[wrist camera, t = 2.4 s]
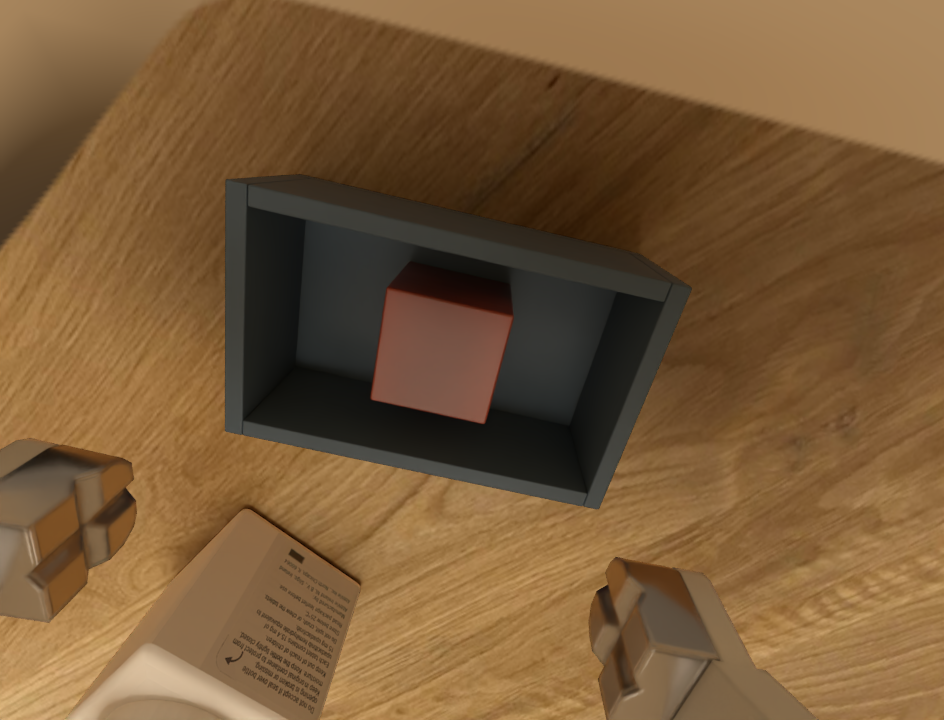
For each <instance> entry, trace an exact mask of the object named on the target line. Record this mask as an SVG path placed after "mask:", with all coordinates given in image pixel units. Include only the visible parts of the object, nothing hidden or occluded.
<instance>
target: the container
mask: <svg viewBox="0 0 944 720" xmlns="http://www.w3.org/2000/svg"><path fill="white" fill-rule="evenodd" d="M359 593H360V585H359V584H358V583H357V582H356V581H354V580H353V579H351V578H350V577H348V576H347V575H345V574H344V573H342V572H341V571H340V570H338V569H337V568H335V567H334V566H332V565H331V564H329V563H328V562H326V561H325V560H323V559H322V558H321V557H319V556H318V555H316V554H315V553H313V552H312V551H310V550H309V549H307V548H306V547H304V546H303V545H302V544H300V543H299V542H297V541H296V540H294V539H293V538H291V537H290V536H288V535H287V534H286V533H284V532H283V531H281V530H280V529H278V528H277V527H275V526H274V525H272V524H271V523H269V522H268V521H267V520H265V519H264V518H262V517H261V516H259V515H258V514H256V513H255V512H253V511H252V510H250V509H243V510H242V511H240V512H239V513H238V514H237V515H236V516H235V517H234V518H233V519H232V520H231V521H230V522H229V523H228V524H227V525H226V526H225V527H224V528H223V529H222V530H221V531H220V532H219V533H218V534H217V535H216V536H215V537H214V538H213V539H212V540H211V541H210V542H209V543H208V544H207V545H206V546H205V547H204V548H203V549H202V550H201V551H200V553H199V554H198V555H197V556H196V557H195V558H194V559H193V560H192V561H191V562H190V563H189V564H188V565H187V566H186V567H185V568H184V569H183V570H182V571H181V572H180V573H179V574H178V575H177V576H176V577H175V578H174V579H173V580H172V581H171V582H170V584H169V585H168V586H167V587H166V589H165V590H164V591H163V593H162V594H161V595H160V597H159V598H158V599H157V600H156V602H155V603H154V604H153V606H152V607H151V608H150V610H149V611H148V612H147V613H146V615H145V616H144V617H143V619H142V620H141V621H140V622H139V624H138V625H137V626H136V628H135V629H134V630H133V632H132V633H131V634H130V635H129V637H128V638H127V639H126V641H125V642H124V643H123V644H122V646H121V647H120V648H119V650H118V651H117V652H116V654H115V655H114V656H113V657H112V659H111V660H110V661H109V663H108V664H107V665H106V667H105V668H104V669H103V670H102V672H101V673H100V674H99V676H98V677H97V678H96V679H95V681H94V682H93V683H92V685H91V686H90V687H89V689H88V690H87V691H86V692H85V694H84V695H83V696H82V698H81V699H80V700H79V702H78V703H77V704H76V705H75V707H74V708H73V709H72V711H71V712H70V713H69V714H68V716H67V717H66V718H65V720H320V717H321V713H322V710H323V707H324V704H325V701H326V698H327V694H328V691H329V688H330V685H331V682H332V679H333V675H334V672H335V669H336V666H337V663H338V660H339V657H340V653H341V650H342V647H343V644H344V641H345V638H346V634H347V631H348V628H349V625H350V622H351V619H352V615H353V612H354V609H355V606H356V603H357V600H358V596H359Z"/></svg>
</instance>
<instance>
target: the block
mask: <svg viewBox="0 0 944 720" xmlns="http://www.w3.org/2000/svg"><path fill="white" fill-rule="evenodd" d="M513 320H514V312H513V303H512V293H511V285H510V284H508V283H503V282H499V281H495V280H490V279H486V278H482V277H477V276H473V275H468V274H464V273H460V272H455V271H451V270H447V269H442V268H438V267H433V266H429V265H425V264H420V263H416V262H412V261H410V262H408V264H407V265H406V266H405V267H404V268H403V269H402V271H401V272H400V273H399V274H398V275H397V276H396V277H395V279H394V280H393V281H392V282H391V283H390V284H389V285H388V287H387V288H386V293H385V300H384V306H383V313H382V320H381V327H380V334H379V341H378V347H377V354H376V361H375V368H374V375H373V381H372V388H371V395H370V399H371V400H374V401H378V402H383V403H388V404H392V405H397V406H401V407H406V408H411V409H415V410H420V411H425V412H429V413H434V414H439V415H443V416H448V417H452V418H457V419H462V420H466V421H471V422H476V423H480V424H485V423H486V420H487V417H488V413H489V409H490V405H491V402H492V398H493V394H494V391H495V387H496V383H497V379H498V376H499V372H500V368H501V365H502V361H503V357H504V353H505V350H506V346H507V342H508V339H509V335H510V331H511V327H512V324H513Z"/></svg>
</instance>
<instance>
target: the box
mask: <svg viewBox="0 0 944 720" xmlns="http://www.w3.org/2000/svg"><path fill="white" fill-rule="evenodd" d="M410 261H412V262H416V263H420V264H425V265H429V266H433V267H438V268H442V269H447V270H451V271H455V272H460V273H464V274H468V275H473V276H477V277H482V278H486V279H490V280H495V281H499V282H503V283H508V284H510V285H511V293H512V303H513V312H514V320H513V324H512V327H511V331H510V335H509V339H508V342H507V346H506V350H505V353H504V357H503V361H502V365H501V368H500V372H499V376H498V379H497V383H496V387H495V391H494V394H493V398H492V402H491V405H490V409H489V413H488V417H487V420H486V423H485V424H480V423H476V422H471V421H466V420H462V419H457V418H452V417H448V416H443V415H439V414H434V413H429V412H425V411H420V410H415V409H411V408H406V407H401V406H397V405H392V404H388V403H383V402H378V401H374V400H371V399H370V395H371V388H372V381H373V375H374V368H375V361H376V354H377V347H378V341H379V334H380V327H381V320H382V313H383V306H384V300H385V293H386V288H387V287H388V285H389V284H390V283H391V282H392V281H393V280H394V279H395V277H396V276H397V275H398V274H399V273H400V272H401V271H402V269H403V268H404V267H405V266H406V265H407V264H408V262H410ZM691 290H692V288H691V287H690V286H688V285H687V284H685V283H684V282H682V281H681V280H679V279H678V278H676V277H675V276H673V275H672V274H670V273H669V272H667V271H665V270H664V269H662V268H661V267H659V266H658V265H656V264H655V263H653V262H652V261H650V260H649V259H647V258H646V257H644V256H643V255H641V254H638V253H634V252H630V251H625V250H621V249H617V248H613V247H608V246H604V245H600V244H595V243H591V242H587V241H583V240H578V239H574V238H570V237H566V236H561V235H557V234H553V233H549V232H544V231H540V230H536V229H531V228H527V227H523V226H519V225H514V224H510V223H506V222H502V221H497V220H493V219H489V218H485V217H480V216H476V215H472V214H467V213H463V212H459V211H455V210H450V209H446V208H442V207H438V206H433V205H429V204H425V203H421V202H416V201H412V200H408V199H403V198H399V197H395V196H391V195H386V194H382V193H378V192H374V191H369V190H365V189H361V188H357V187H352V186H348V185H344V184H339V183H335V182H331V181H327V180H322V179H318V178H314V177H310V176H305V175H301V174H298V175H281V176H266V177H252V178H238V179H226V200H225V431H226V432H230V433H235V434H240V435H242V434H243V435H245V436H250V437H255V438H259V439H264V440H269V441H274V442H278V443H283V444H288V445H293V446H297V447H302V448H307V449H312V450H316V451H321V452H326V453H331V454H335V455H340V456H345V457H350V458H354V459H359V460H364V461H369V462H373V463H378V464H383V465H388V466H392V467H397V468H402V469H407V470H411V471H416V472H421V473H426V474H430V475H435V476H440V477H445V478H450V479H454V480H459V481H464V482H469V483H473V484H478V485H483V486H488V487H492V488H497V489H502V490H507V491H511V492H516V493H521V494H526V495H530V496H535V497H540V498H545V499H549V500H554V501H559V502H564V503H568V504H573V505H578V506H584V507H588V508H593V509H599V508H600V505H601V503H602V500H603V498H604V496H605V493H606V491H607V489H608V486H609V484H610V482H611V479H612V477H613V474H614V472H615V470H616V467H617V465H618V463H619V460H620V458H621V456H622V453H623V451H624V448H625V446H626V444H627V441H628V439H629V437H630V434H631V432H632V430H633V427H634V425H635V422H636V420H637V418H638V415H639V413H640V411H641V408H642V406H643V404H644V401H645V399H646V396H647V394H648V392H649V389H650V387H651V385H652V382H653V380H654V377H655V375H656V373H657V370H658V368H659V366H660V363H661V361H662V359H663V356H664V354H665V351H666V349H667V347H668V344H669V342H670V340H671V337H672V335H673V333H674V330H675V328H676V325H677V323H678V321H679V318H680V316H681V314H682V311H683V309H684V307H685V304H686V302H687V299H688V297H689V295H690V292H691Z"/></svg>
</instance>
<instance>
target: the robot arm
mask: <svg viewBox="0 0 944 720" xmlns="http://www.w3.org/2000/svg"><path fill="white" fill-rule="evenodd" d="M133 480H134V476H133V469H132V463H131V462H129V461H127V460H125V459H123V458H119V457H115V456H110V455H106V454H102V453H97V452H93V451H88V450H84V449H79V448H75V447H71V446H66V445H58V444H54V443H49V442H45V441H41V440H37V439H32V438H29V439H23V440H17V441H15V442H13V443H11V444H9V445H8V446H6V447H4V448H3V449H1V450H0V615H1V616H8V617H15V618H21V619H28V620H34V621H41V622H48V623H49V622H50V621H51V620H52V619H53V618H54V617H55V616H56V615H57V614H58V613H59V612H60V611H61V610H62V609H63V608H64V607H65V606H66V605H67V604H68V603H69V602H70V601H71V600H72V599H73V598H74V597H75V596H76V595H77V593H78V592H79V591H80V590H81V589H82V588H83V587H84V586H85V585H86V584H87V581H88V571H89V569H91V568H93V567H95V566H97V565H99V564H102V563H104V562H106V561H108V560H110V559H111V558H112V557H113V556H114V555H115V554H116V553H117V552H118V551H119V549H120V548H121V547H122V546H123V545H124V544H125V542H126V540H127V538H128V536H129V535H130V533H131V531H132V529H133V527H134V524H135V519H136V514H137V508H136V500H135V499H134V498H133V496H132V495H131V494H130V493H129V492H128V490H127V489H126V487H127V486H128V485H129V484H130V483H131V482H132V481H133ZM605 574H606V578H607V582H608V585H606V586H605V587H603V588H601V589H599V590H598V591H597V592H596V594H595V596H594V599H593V601H592V604H591V608H590V616H589V636H590V642H591V647H592V651H593V653H594V654H595V655H596V656H597V658H598V659H599V660H600V662H601V663H602V664H603V665H604V668H603V670H602V672H601V674H600V676H599V678H598V682H599V686H600V691H601V696H602V700H603V705H604V710H605V715H606V719H607V720H818V719H817V718H816V717H815V716H814V715H813V714H812V713H811V712H810V711H809V710H808V709H806V708H805V707H804V706H803V705H802V704H801V703H800V702H799V701H798V700H797V699H796V698H795V697H794V696H793V695H792V694H790V693H789V692H788V691H787V690H786V689H785V688H784V687H783V686H782V685H781V684H780V683H779V682H778V681H777V680H776V679H775V678H773V677H772V676H771V675H770V674H769V673H768V672H767V671H766V670H761V669H757V668H756V667H755V665H754V663H753V661H752V659H751V657H750V656H749V654H748V652H747V650H746V648H745V646H744V644H743V642H742V640H741V638H740V637H739V635H738V633H737V631H736V629H735V627H734V625H733V623H732V621H731V619H730V617H729V616H728V614H727V612H726V610H725V608H724V606H723V604H722V602H721V600H720V598H719V597H718V595H717V593H716V591H715V589H714V587H713V585H712V583H711V581H710V580H709V579H708V578H707V577H706V576H705V575H704V574H703V573H700V572H695V571H689V570H684V569H678V568H670V567H666V566H661V565H656V564H650V563H645V562H640V561H635V560H629V559H624V558H619V557H615V558H614V559H613V560H612V561H611V562H610V564H609V566H608V568H607V570H606V572H605Z"/></svg>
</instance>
